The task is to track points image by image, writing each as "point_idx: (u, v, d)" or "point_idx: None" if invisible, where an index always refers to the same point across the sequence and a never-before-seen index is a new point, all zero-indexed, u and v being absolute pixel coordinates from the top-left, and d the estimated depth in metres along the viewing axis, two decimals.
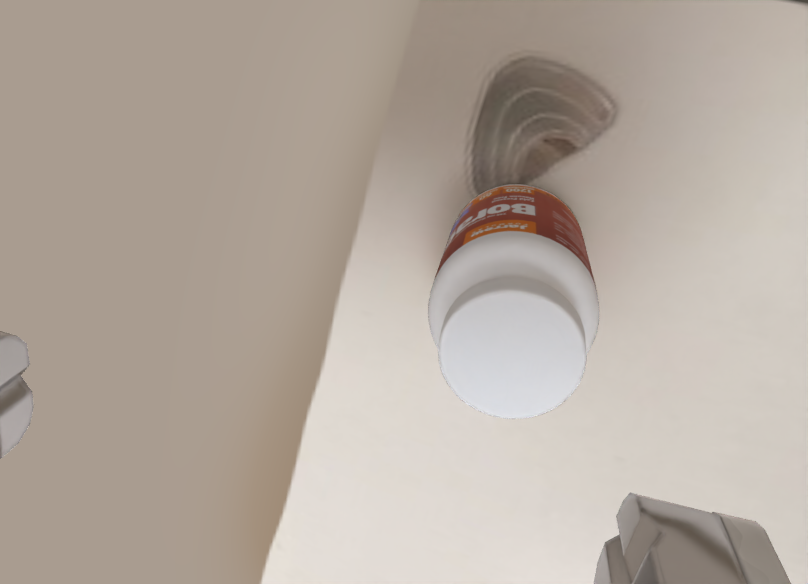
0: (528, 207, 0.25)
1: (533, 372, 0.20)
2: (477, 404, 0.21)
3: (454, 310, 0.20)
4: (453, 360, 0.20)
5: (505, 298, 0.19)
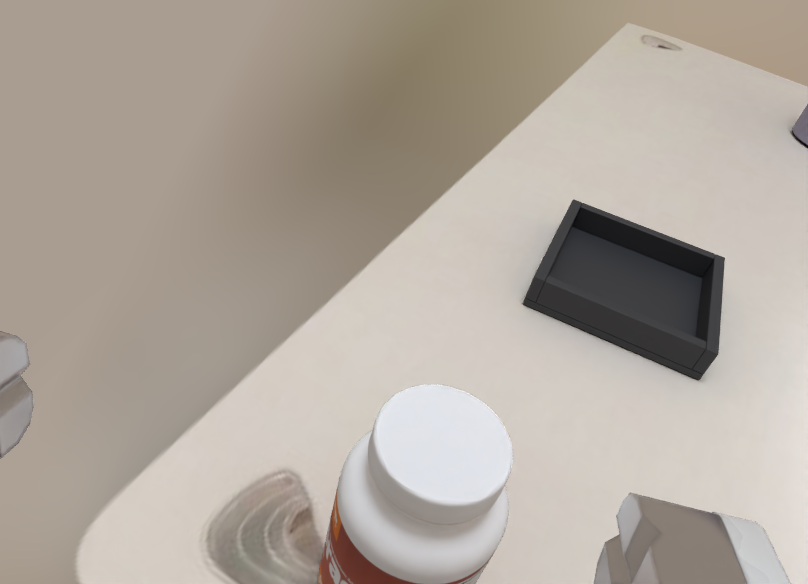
0: None
1: (462, 425, 0.21)
2: (494, 482, 0.19)
3: (386, 474, 0.19)
4: (440, 488, 0.19)
5: (382, 425, 0.20)
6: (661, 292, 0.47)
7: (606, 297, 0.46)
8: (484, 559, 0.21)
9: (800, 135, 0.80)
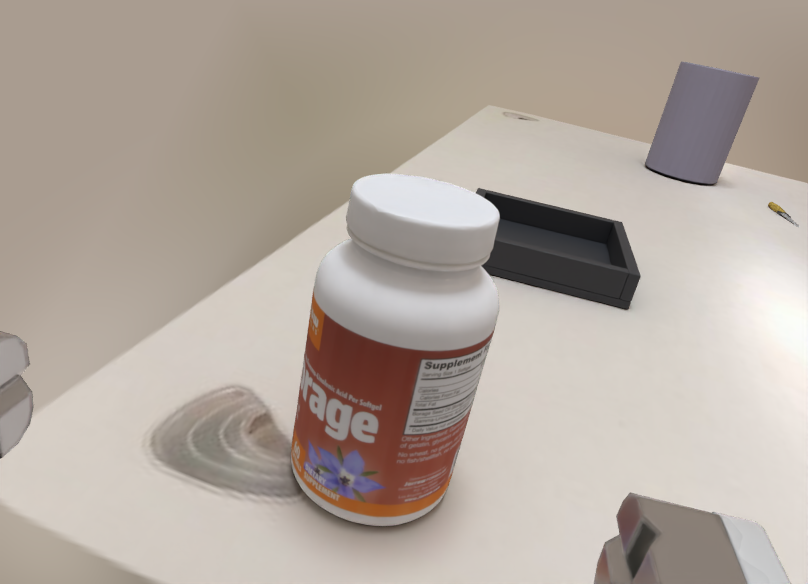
0: None
1: (440, 193, 0.20)
2: (486, 219, 0.18)
3: (375, 214, 0.18)
4: (435, 218, 0.18)
5: (360, 187, 0.19)
6: (574, 252, 0.50)
7: None
8: (486, 325, 0.19)
9: (653, 166, 0.91)
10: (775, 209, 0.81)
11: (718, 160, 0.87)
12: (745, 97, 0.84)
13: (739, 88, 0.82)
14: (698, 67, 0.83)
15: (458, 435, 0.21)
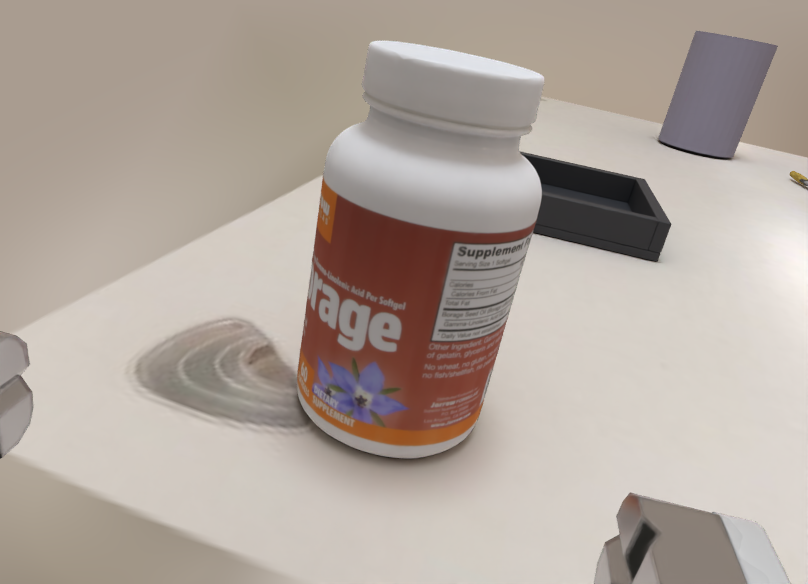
0: None
1: (472, 59, 0.17)
2: (530, 75, 0.15)
3: (398, 63, 0.15)
4: (471, 67, 0.15)
5: (379, 44, 0.16)
6: None
7: None
8: (529, 208, 0.16)
9: (667, 140, 0.88)
10: (797, 178, 0.78)
11: (735, 132, 0.84)
12: (763, 66, 0.81)
13: (757, 56, 0.80)
14: (714, 35, 0.80)
15: (492, 350, 0.18)
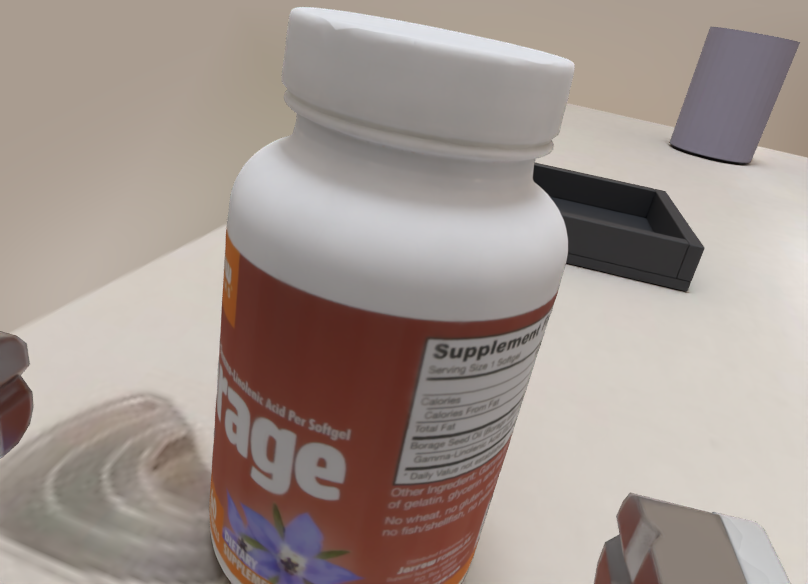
0: None
1: (460, 36, 0.11)
2: (553, 60, 0.09)
3: (329, 37, 0.09)
4: (453, 44, 0.09)
5: (307, 10, 0.10)
6: None
7: None
8: (550, 274, 0.10)
9: (679, 144, 0.82)
10: None
11: (753, 136, 0.78)
12: (784, 64, 0.75)
13: (778, 54, 0.73)
14: (731, 31, 0.74)
15: (493, 479, 0.12)
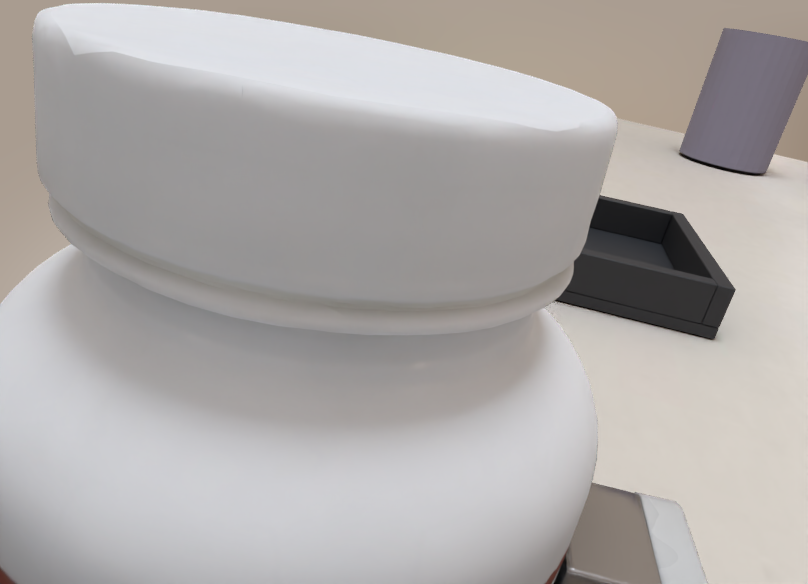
0: None
1: (404, 55, 0.06)
2: (578, 113, 0.04)
3: (66, 71, 0.04)
4: (353, 87, 0.04)
5: (92, 7, 0.05)
6: (622, 256, 0.36)
7: None
8: (569, 524, 0.05)
9: (690, 153, 0.77)
10: None
11: (769, 145, 0.73)
12: (804, 68, 0.70)
13: (797, 57, 0.69)
14: (747, 33, 0.69)
15: None
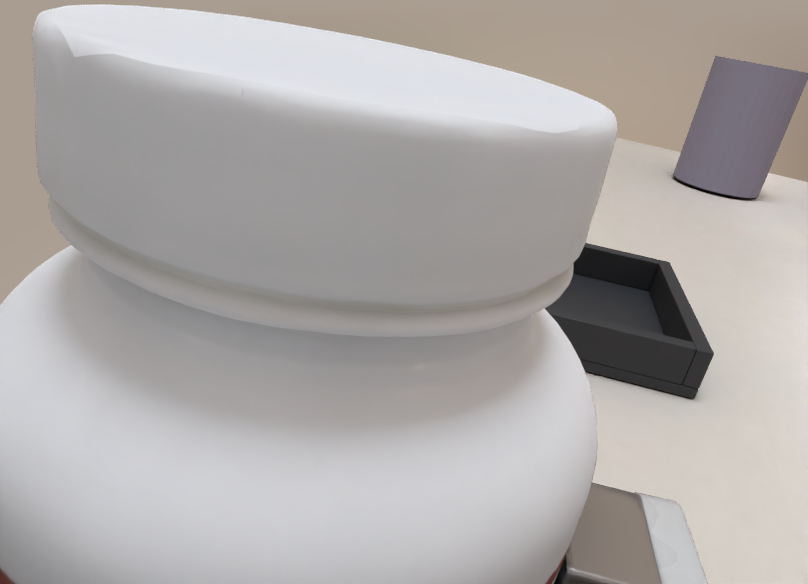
0: None
1: (404, 56, 0.06)
2: (579, 116, 0.05)
3: (67, 73, 0.04)
4: (351, 88, 0.04)
5: (92, 9, 0.05)
6: (609, 307, 0.37)
7: None
8: (568, 525, 0.05)
9: (683, 178, 0.78)
10: None
11: (761, 170, 0.74)
12: (794, 96, 0.71)
13: (788, 86, 0.70)
14: (738, 62, 0.71)
15: None
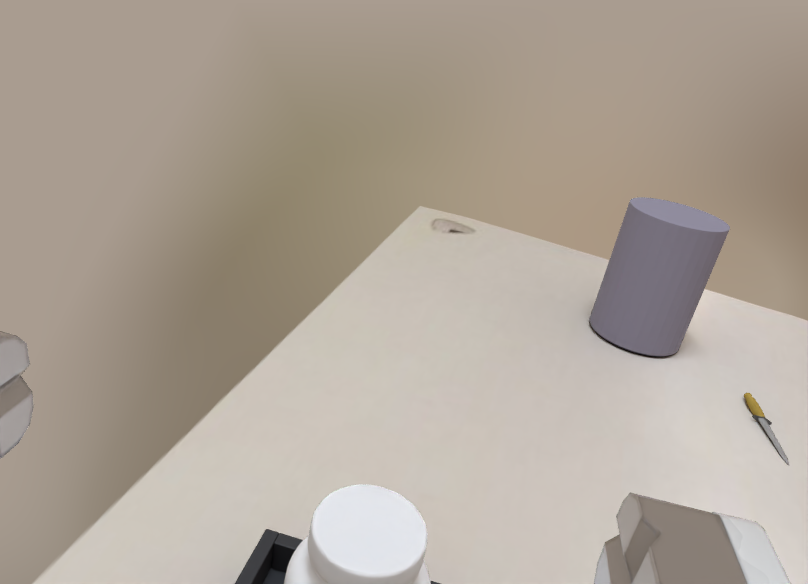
0: None
1: (383, 514, 0.25)
2: (414, 553, 0.24)
3: (327, 561, 0.23)
4: (373, 564, 0.23)
5: (318, 522, 0.24)
6: None
7: None
8: None
9: (597, 328, 0.71)
10: (751, 408, 0.61)
11: (678, 329, 0.68)
12: (711, 255, 0.64)
13: (703, 247, 0.63)
14: (649, 217, 0.64)
15: None
